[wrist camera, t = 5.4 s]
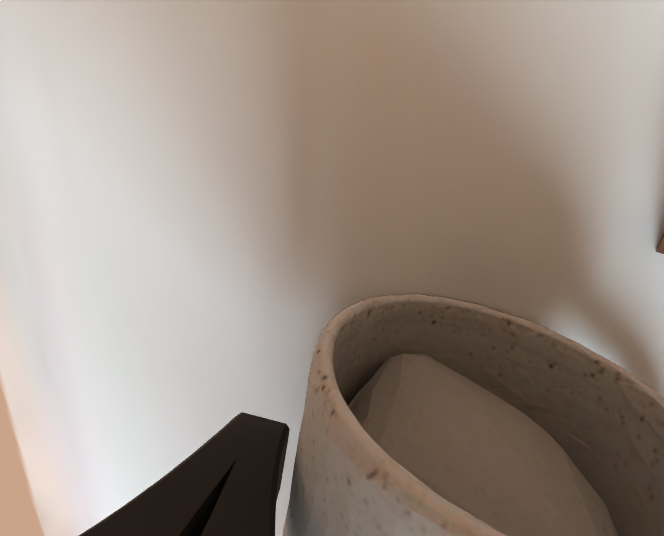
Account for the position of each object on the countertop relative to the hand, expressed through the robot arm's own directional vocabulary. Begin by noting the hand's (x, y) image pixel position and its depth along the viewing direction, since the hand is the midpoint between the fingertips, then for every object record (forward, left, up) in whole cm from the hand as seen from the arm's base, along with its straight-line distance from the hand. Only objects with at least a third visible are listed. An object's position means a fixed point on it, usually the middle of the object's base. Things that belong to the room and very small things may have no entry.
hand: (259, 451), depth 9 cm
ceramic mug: (0, -6, -4) cm, 7 cm away
